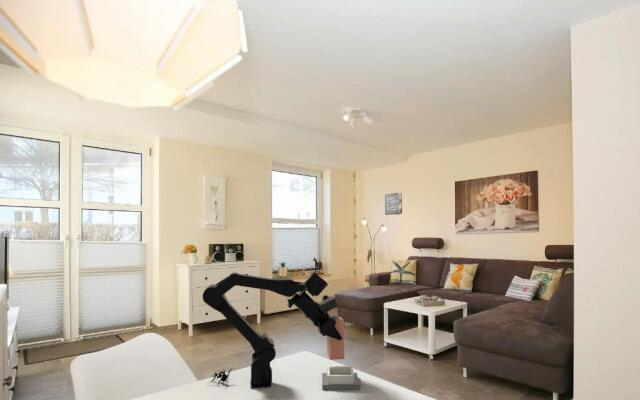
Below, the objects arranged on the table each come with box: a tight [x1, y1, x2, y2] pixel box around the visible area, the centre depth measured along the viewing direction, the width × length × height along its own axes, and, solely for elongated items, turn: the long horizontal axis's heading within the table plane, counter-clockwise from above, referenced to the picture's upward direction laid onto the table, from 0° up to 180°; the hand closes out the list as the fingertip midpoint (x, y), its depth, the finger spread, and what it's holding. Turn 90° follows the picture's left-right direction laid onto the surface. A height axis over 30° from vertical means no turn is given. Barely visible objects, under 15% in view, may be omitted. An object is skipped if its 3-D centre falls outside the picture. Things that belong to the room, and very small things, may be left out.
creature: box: [208, 367, 233, 385], centre depth 130 cm, size 8×5×8 cm
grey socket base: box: [321, 365, 361, 391], centre depth 127 cm, size 12×10×4 cm
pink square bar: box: [326, 314, 345, 361], centre depth 133 cm, size 5×5×14 cm
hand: (339, 337), depth 134 cm, fingers closed on pink square bar, 5 cm apart
